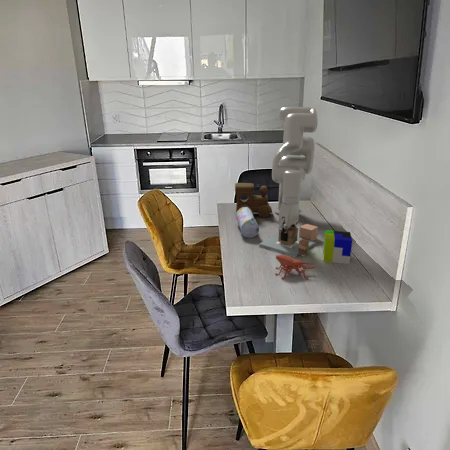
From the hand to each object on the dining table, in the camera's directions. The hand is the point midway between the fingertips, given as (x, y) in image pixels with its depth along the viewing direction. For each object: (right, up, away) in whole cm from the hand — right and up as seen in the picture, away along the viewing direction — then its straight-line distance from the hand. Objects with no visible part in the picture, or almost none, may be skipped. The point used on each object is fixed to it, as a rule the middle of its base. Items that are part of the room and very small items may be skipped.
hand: (288, 238), depth 176 cm
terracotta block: (+11, -1, +9) cm, 14 cm away
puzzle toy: (+18, -8, -11) cm, 22 cm away
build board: (0, -3, +1) cm, 3 cm away
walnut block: (0, -1, 0) cm, 1 cm away
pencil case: (-17, +3, +18) cm, 25 cm away
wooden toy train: (-13, +11, +41) cm, 45 cm away
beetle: (-1, -13, -24) cm, 27 cm away
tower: (+5, -7, -8) cm, 11 cm away
